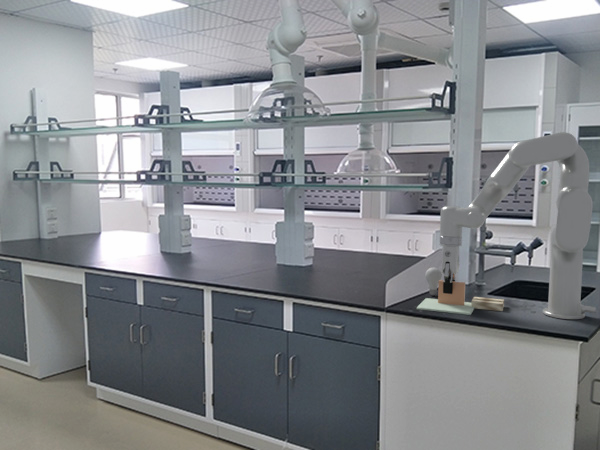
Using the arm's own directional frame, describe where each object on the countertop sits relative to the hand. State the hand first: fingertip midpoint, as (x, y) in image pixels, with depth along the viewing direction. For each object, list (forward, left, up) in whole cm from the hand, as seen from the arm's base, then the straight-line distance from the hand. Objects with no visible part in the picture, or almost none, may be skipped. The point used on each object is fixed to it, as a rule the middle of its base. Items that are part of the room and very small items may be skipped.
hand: (448, 291), depth 191 cm
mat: (0, +3, -5) cm, 6 cm away
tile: (+4, 0, 0) cm, 4 cm away
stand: (-13, -3, -5) cm, 14 cm away
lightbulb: (+8, -13, -5) cm, 16 cm away
